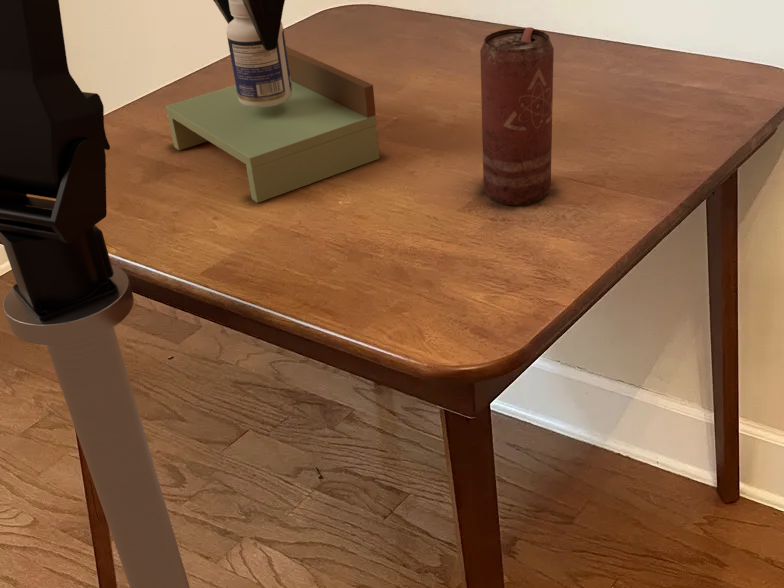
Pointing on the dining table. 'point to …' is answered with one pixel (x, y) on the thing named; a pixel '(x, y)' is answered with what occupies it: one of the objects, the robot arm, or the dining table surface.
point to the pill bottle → (257, 62)
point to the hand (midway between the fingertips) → (256, 42)
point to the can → (517, 115)
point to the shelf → (287, 128)
